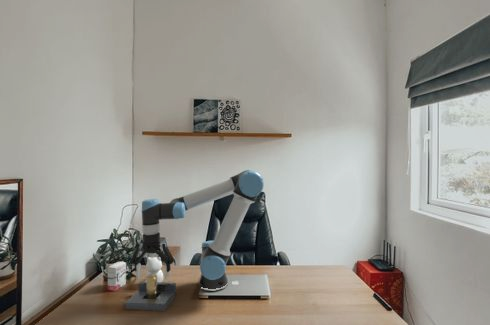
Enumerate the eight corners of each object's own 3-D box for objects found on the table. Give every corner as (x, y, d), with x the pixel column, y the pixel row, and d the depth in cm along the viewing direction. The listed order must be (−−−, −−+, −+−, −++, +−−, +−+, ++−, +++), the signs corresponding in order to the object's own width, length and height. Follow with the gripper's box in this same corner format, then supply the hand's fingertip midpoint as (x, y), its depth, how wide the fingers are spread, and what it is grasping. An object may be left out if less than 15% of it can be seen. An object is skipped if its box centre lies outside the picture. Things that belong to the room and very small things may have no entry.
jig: (176, 295, 131) (175, 281, 131) (164, 310, 117) (164, 295, 117) (140, 293, 133) (140, 280, 133) (125, 309, 119) (125, 293, 119)
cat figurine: (143, 289, 138) (142, 260, 138) (149, 278, 151) (149, 251, 150) (161, 288, 139) (160, 259, 139) (166, 277, 151) (165, 251, 151)
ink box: (115, 291, 136) (115, 267, 136) (107, 290, 137) (106, 267, 137) (126, 283, 144) (126, 261, 144) (118, 283, 145) (118, 261, 145)
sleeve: (158, 299, 127) (158, 274, 127) (154, 304, 123) (154, 278, 123) (149, 299, 128) (149, 273, 128) (144, 304, 123) (144, 278, 123)
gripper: (179, 230, 128) (181, 274, 128) (130, 231, 130) (131, 274, 130) (174, 234, 120) (176, 282, 120) (121, 235, 123) (123, 281, 123)
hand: (152, 278), depth 125 cm, fingers open, 13 cm apart
